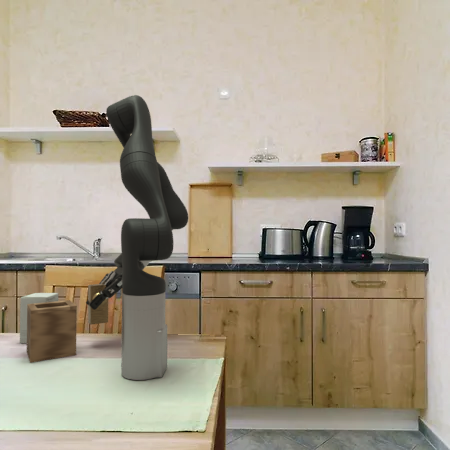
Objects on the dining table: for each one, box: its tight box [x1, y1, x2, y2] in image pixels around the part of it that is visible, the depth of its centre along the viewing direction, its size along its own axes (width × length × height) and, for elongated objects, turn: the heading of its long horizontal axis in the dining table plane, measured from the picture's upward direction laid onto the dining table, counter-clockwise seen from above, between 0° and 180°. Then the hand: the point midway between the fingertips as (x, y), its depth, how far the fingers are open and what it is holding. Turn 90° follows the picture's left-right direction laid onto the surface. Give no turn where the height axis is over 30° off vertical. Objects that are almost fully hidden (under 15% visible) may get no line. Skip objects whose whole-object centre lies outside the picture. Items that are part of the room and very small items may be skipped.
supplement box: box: [19, 292, 59, 344], centre depth 102 cm, size 7×7×13 cm
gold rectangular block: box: [87, 283, 109, 325], centre depth 97 cm, size 4×3×10 cm, turn 123°
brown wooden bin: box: [26, 299, 78, 364], centre depth 91 cm, size 10×9×12 cm
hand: (90, 306), depth 96 cm, fingers closed on gold rectangular block, 2 cm apart
